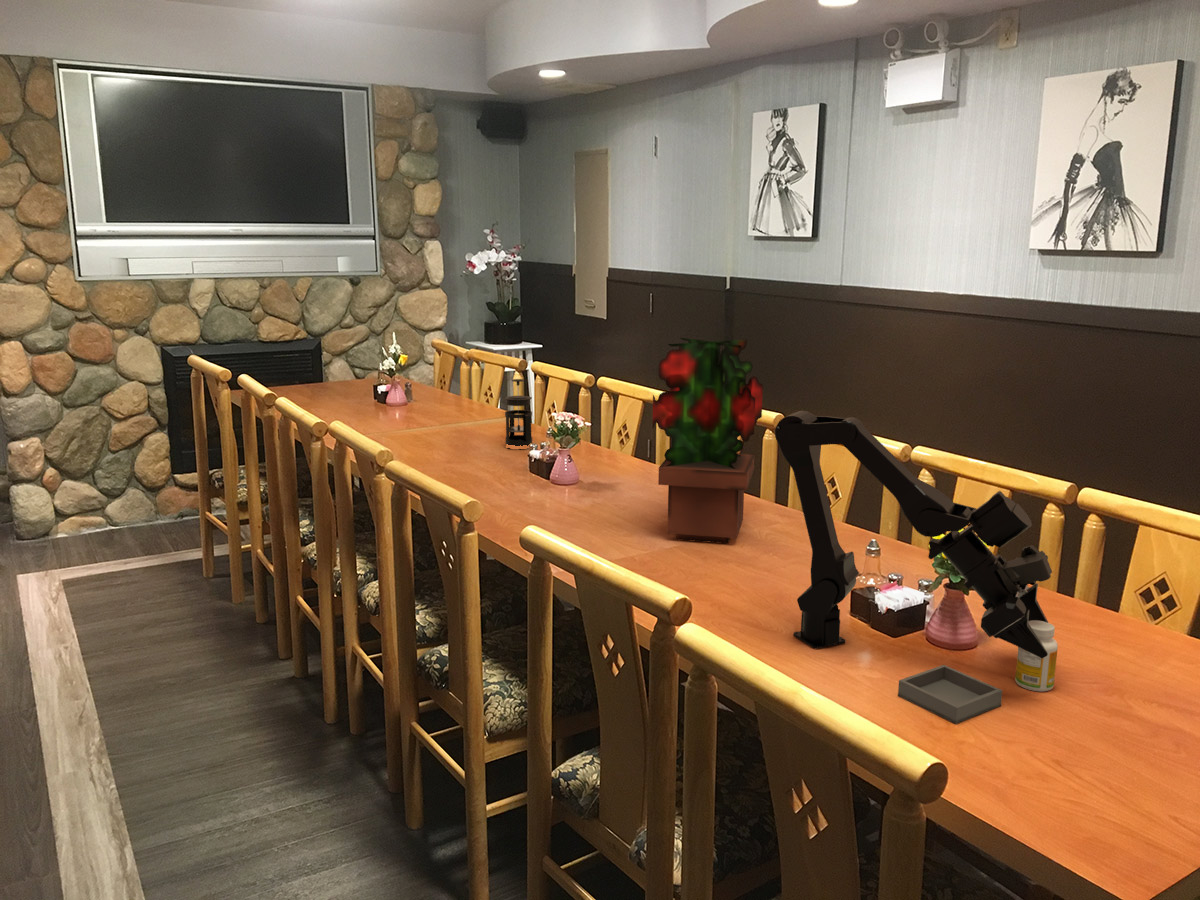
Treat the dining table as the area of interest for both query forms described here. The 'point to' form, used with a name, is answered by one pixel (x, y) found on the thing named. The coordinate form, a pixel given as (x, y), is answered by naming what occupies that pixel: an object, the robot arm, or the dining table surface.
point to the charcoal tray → (950, 693)
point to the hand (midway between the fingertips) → (1048, 645)
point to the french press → (512, 414)
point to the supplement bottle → (1038, 660)
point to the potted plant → (707, 437)
